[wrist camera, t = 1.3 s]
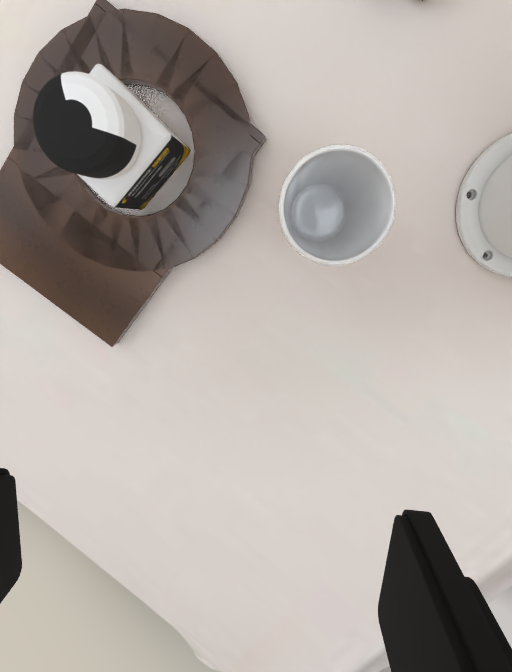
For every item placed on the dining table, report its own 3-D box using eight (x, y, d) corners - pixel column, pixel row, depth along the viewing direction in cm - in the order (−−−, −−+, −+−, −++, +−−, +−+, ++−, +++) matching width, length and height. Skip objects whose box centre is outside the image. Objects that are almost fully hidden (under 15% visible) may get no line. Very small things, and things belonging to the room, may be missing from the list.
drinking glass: (303, 265, 39) (315, 289, 25) (265, 201, 38) (254, 188, 24) (368, 225, 38) (420, 226, 24) (330, 158, 37) (361, 115, 22)
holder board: (103, -42, 34) (95, -53, 33) (301, 130, 37) (302, 126, 35) (-44, 222, 41) (-56, 222, 39) (133, 354, 43) (128, 359, 41)
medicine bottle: (141, 211, 39) (82, 205, 28) (82, 154, 38) (-5, 124, 27) (192, 151, 38) (151, 118, 26) (131, 90, 37) (61, 28, 25)
